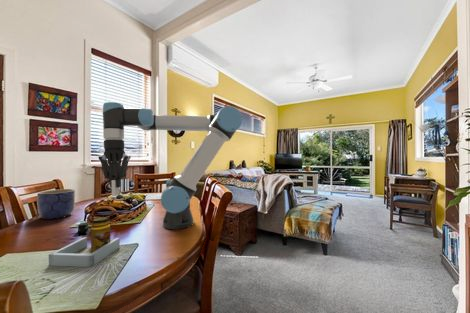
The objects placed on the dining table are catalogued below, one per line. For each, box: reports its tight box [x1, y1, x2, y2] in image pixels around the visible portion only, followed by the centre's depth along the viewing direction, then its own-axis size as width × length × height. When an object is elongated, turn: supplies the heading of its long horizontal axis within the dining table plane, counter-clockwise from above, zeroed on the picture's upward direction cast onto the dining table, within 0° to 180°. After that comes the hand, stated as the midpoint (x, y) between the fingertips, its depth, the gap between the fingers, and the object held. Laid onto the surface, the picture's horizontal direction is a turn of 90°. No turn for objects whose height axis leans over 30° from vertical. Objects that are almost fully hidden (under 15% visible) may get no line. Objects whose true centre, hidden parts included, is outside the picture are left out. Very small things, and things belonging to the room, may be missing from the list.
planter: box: [36, 188, 76, 220], centre depth 120 cm, size 16×16×15 cm
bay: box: [48, 236, 121, 268], centre depth 72 cm, size 14×14×4 cm
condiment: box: [82, 216, 112, 254], centre depth 76 cm, size 7×8×12 cm
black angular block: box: [72, 221, 91, 238], centre depth 95 cm, size 12×7×5 cm, turn 23°
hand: (115, 195), depth 87 cm, fingers closed
